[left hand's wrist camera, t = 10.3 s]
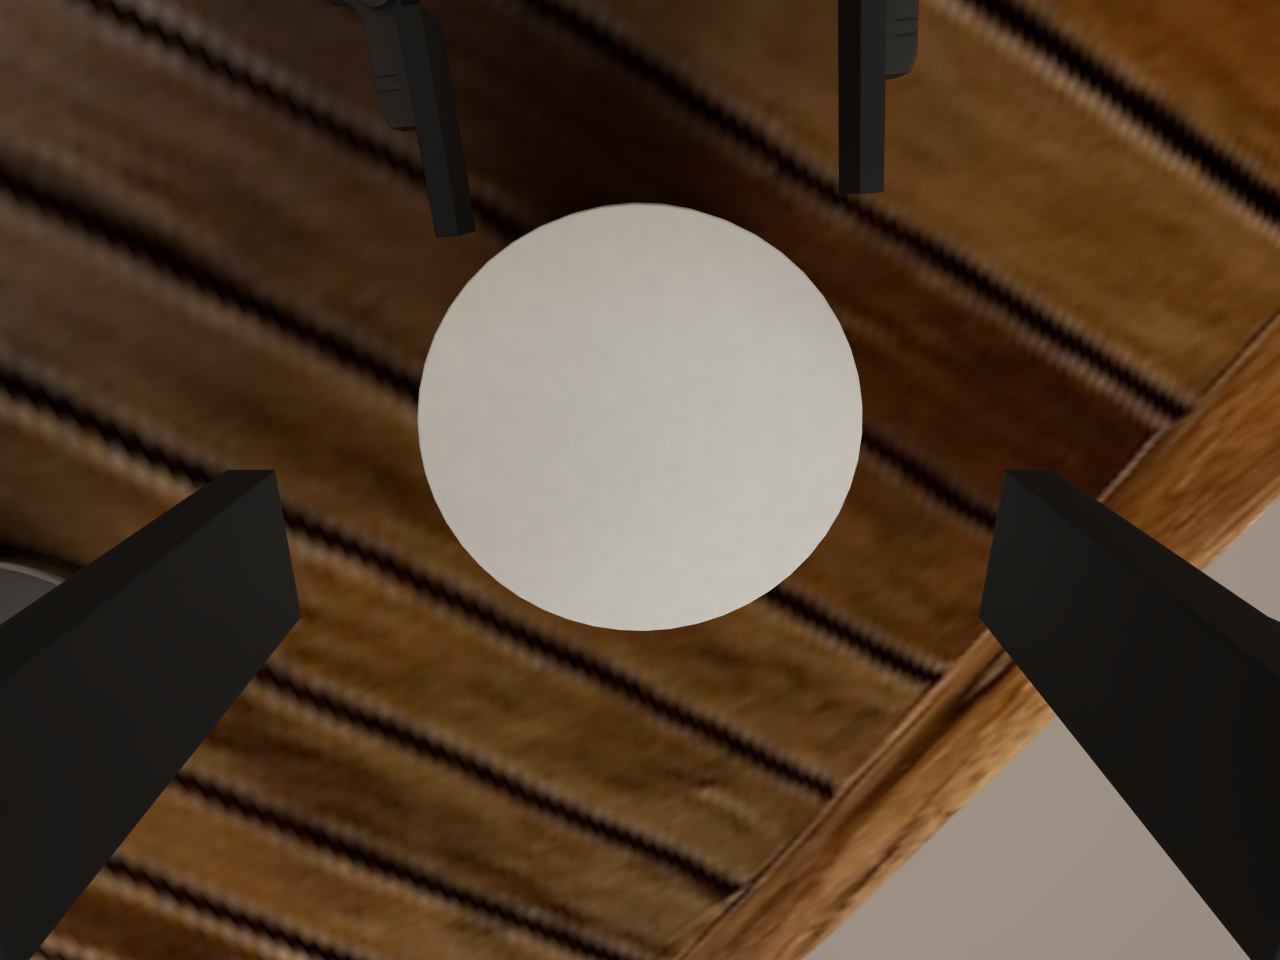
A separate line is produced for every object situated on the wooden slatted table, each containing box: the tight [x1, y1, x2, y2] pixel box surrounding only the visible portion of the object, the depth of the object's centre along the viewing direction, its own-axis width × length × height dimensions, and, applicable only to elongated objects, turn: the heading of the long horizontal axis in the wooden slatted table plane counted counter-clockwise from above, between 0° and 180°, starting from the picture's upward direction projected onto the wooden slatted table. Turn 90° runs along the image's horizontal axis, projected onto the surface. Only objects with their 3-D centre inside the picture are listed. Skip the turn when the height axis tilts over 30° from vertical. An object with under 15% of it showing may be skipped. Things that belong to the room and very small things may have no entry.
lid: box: [417, 203, 862, 631], centre depth 19 cm, size 10×10×2 cm
